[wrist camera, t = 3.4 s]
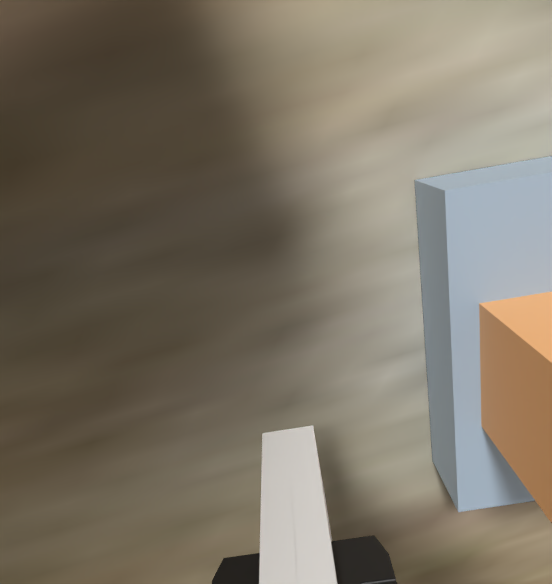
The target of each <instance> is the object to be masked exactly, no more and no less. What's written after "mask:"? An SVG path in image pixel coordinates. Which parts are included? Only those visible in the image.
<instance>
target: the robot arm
mask: <svg viewBox="0 0 552 584" xmlns="http://www.w3.org/2000/svg"><path fill="white" fill-rule="evenodd" d="M212 584H397V582H396V579H395V575H394V571H393V568H392V564H391V561H390V557H389V554H388V553H387V551H386V550H385V549H384V548H383V546H382V545H381V544H380V542H379V541H378V540H377V539H376V537H375V536H367V537H360V538H353V539H346V540H339V541H332V537H331V530H330V524H329V517H328V511H327V504H326V498H325V492H324V486H323V480H322V475H321V469H320V463H319V457H318V451H317V445H316V439H315V434H314V428H313V425H312V426H306V427H299V428H293V429H286V430H280V431H273V432H267V433H262V476H261V521H260V553H257V554H250V555H243V556H236V557H229V558H224V559H223V561H222V563H221V565H220V566H219V568H218V570H217V572H216V574H215V576H214V578H213V580H212Z"/></svg>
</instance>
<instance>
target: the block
mask: <svg viewBox="0 0 552 584" xmlns="http://www.w3.org/2000/svg"><path fill="white" fill-rule="evenodd" d="M479 321H480V378H481V426H482V428H483V429H484V430H485V432H486V433H487V435H488V436H489V437H490V439H491V440H492V441H493V443H494V444H495V446H496V447H497V448H498V450H499V451H500V452H501V454H502V455H503V457H504V458H505V459H506V461H507V462H508V464H509V465H510V466H511V468H512V469H513V470H514V472H515V473H516V475H517V476H518V477H519V479H520V480H521V481H522V483H523V484H524V486H525V487H526V488H527V490H528V491H529V493H530V494H531V495H532V497H533V498H534V499H535V501H536V502H537V504H538V505H539V506H540V508H541V509H542V510H543V512H544V513H545V515H546V516H547V517H548V519H549V520H550V521H551V523H552V292H546V293H540V294H533V295H527V296H521V297H515V298H509V299H503V300H497V301H491V302H485V303H479Z"/></svg>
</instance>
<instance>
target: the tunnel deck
mask: <svg viewBox="0 0 552 584" xmlns="http://www.w3.org/2000/svg"><path fill="white" fill-rule="evenodd" d="M415 193H416V209H417V225H418V240H419V256H420V272H421V287H422V303H423V319H424V334H425V350H426V365H427V381H428V397H429V412H430V428H431V444H432V459H433V463H434V465H435V467H436V469H437V470H438V472H439V474H440V476H441V478H442V480H443V482H444V484H445V486H446V488H447V490H448V492H449V494H450V496H451V498H452V500H453V502H454V504H455V506H456V508H457V510H458V512H462V511H468V510H475V509H482V508H489V507H496V506H502V505H509V504H516V503H523V502H530V501H535V499H534V498H533V497H532V495H531V494H530V493H529V491H528V490H527V488H526V487H525V486H524V484H523V483H522V481H521V480H520V479H519V477H518V476H517V475H516V473H515V472H514V470H513V469H512V468H511V466H510V465H509V464H508V462H507V461H506V459H505V458H504V457H503V455H502V454H501V452H500V451H499V450H498V448H497V447H496V446H495V444H494V443H493V441H492V440H491V439H490V437H489V436H488V435H487V433H486V432H485V430H484V429H483V428H482V426H481V378H480V321H479V303H485V302H491V301H497V300H503V299H509V298H515V297H521V296H527V295H533V294H540V293H546V292H552V156H549V157H543V158H538V159H532V160H526V161H521V162H515V163H509V164H504V165H498V166H492V167H487V168H481V169H475V170H469V171H464V172H458V173H452V174H447V175H441V176H435V177H430V178H424V179H418V180H415Z"/></svg>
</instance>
